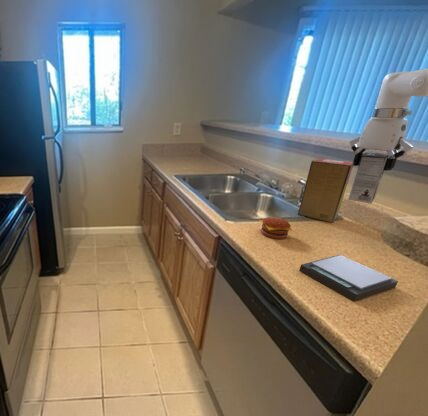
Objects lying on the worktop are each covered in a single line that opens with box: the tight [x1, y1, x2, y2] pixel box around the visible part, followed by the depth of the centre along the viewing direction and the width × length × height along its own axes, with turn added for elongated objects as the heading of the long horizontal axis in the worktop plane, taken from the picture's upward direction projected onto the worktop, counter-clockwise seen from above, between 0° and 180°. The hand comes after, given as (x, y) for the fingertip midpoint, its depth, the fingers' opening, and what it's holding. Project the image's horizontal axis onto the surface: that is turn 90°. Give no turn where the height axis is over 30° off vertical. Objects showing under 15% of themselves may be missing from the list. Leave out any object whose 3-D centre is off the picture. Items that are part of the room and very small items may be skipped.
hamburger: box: [259, 216, 294, 240], centre depth 107 cm, size 9×10×7 cm
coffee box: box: [348, 151, 389, 204], centre depth 96 cm, size 9×6×16 cm
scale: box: [299, 254, 399, 302], centre depth 80 cm, size 15×17×3 cm
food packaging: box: [297, 157, 354, 224], centre depth 120 cm, size 13×9×25 cm
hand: (371, 167), depth 94 cm, fingers closed on coffee box, 8 cm apart
